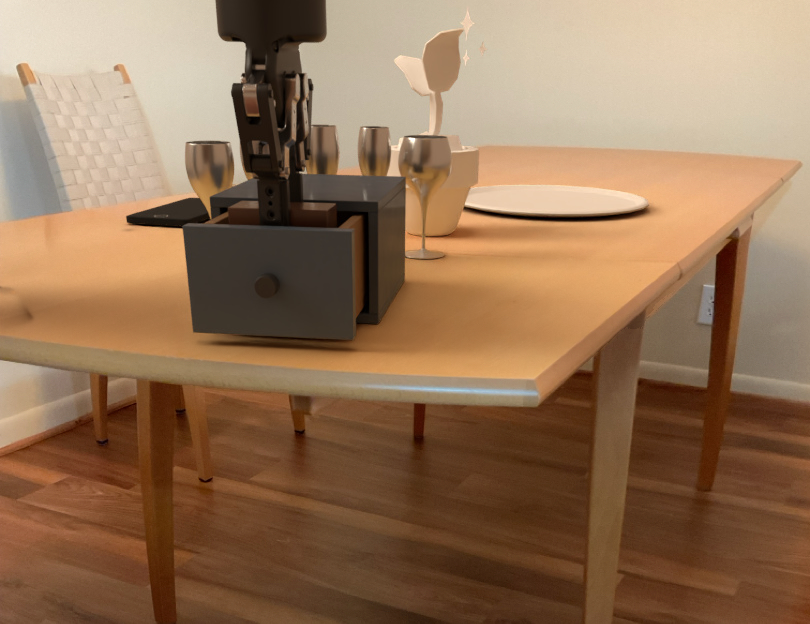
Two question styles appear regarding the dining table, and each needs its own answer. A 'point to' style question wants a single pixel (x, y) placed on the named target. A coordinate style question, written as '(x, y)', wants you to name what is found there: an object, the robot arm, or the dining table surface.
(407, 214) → the potted plant
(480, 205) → the plate
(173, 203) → the cell phone
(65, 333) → the dining table surface
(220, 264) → the drawer
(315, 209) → the brown rectangular block
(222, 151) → the goblet set
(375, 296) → the cabinet
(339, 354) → the dining table surface
